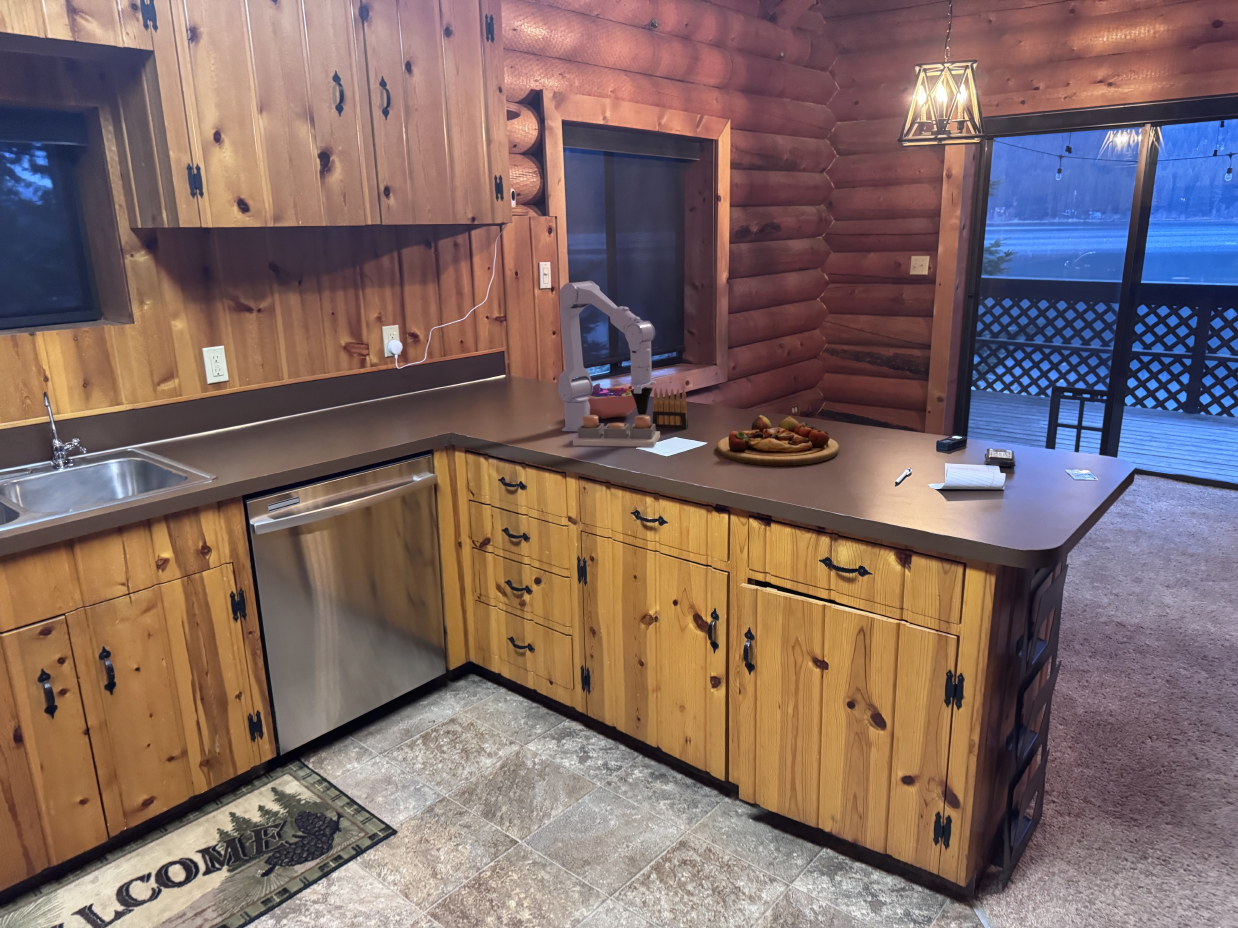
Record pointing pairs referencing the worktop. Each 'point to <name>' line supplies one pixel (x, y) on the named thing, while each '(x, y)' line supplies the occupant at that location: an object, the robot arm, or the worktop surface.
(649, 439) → the plate
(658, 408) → the ammunition clip
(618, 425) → the centre knob
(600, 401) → the cell model
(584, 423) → the end knob
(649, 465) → the worktop surface
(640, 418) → the knob
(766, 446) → the wooden plate with food
